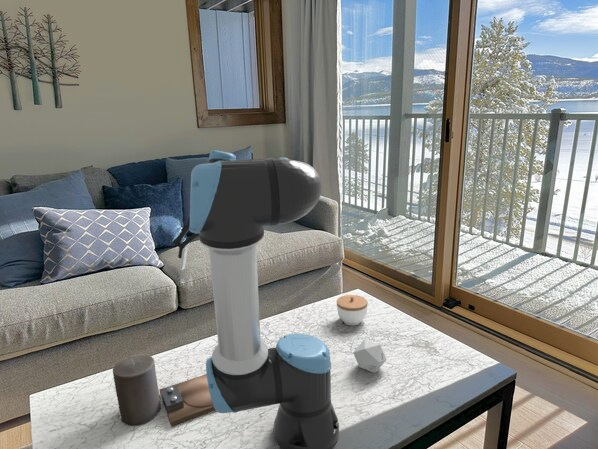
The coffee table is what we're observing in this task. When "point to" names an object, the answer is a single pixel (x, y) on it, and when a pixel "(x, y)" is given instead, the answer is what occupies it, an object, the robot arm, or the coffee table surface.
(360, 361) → the die
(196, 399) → the board
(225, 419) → the coffee table surface
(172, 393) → the dark grey studded block
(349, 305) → the lidded jar
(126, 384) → the pillar candle
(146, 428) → the coffee table surface
